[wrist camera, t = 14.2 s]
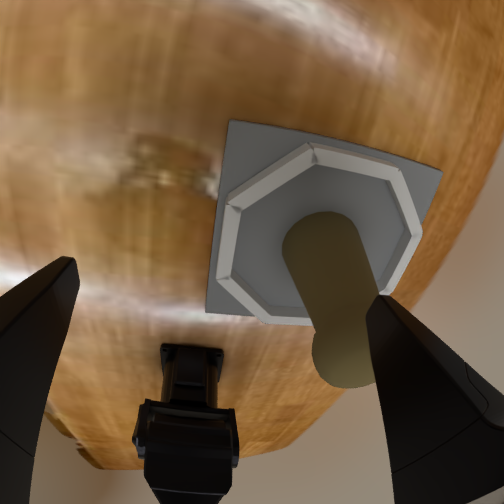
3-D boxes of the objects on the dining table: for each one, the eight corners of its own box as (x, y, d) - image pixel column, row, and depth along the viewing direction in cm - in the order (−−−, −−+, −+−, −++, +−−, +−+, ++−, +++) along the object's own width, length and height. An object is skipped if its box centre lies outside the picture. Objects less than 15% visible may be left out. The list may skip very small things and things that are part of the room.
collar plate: (368, 317, 28) (373, 329, 27) (205, 308, 26) (204, 322, 25) (439, 169, 19) (452, 178, 18) (229, 119, 17) (229, 124, 16)
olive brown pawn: (373, 229, 22) (443, 344, 13) (331, 285, 25) (371, 403, 16) (307, 198, 20) (364, 326, 11) (267, 264, 23) (287, 398, 14)
